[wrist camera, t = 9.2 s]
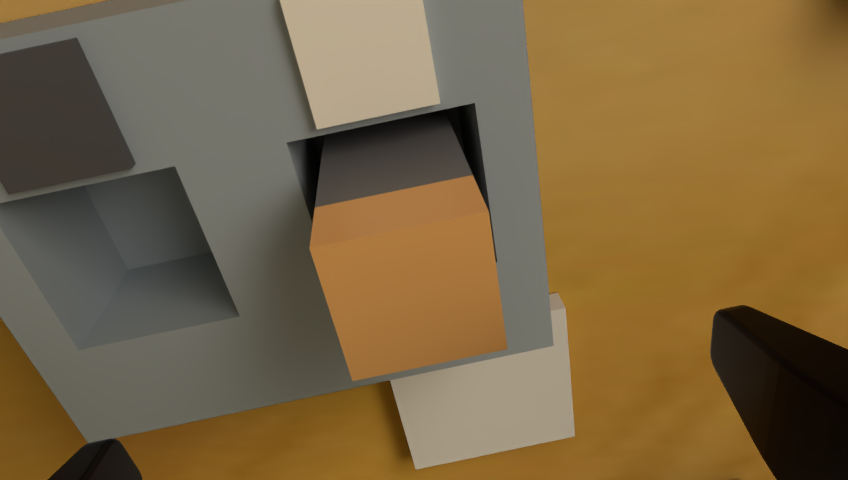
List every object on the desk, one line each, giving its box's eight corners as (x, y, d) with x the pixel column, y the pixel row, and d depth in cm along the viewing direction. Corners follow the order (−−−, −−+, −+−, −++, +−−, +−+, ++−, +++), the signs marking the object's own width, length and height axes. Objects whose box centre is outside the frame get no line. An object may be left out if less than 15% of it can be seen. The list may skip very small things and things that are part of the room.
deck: (567, 418, 26) (574, 436, 25) (413, 450, 26) (415, 469, 25) (557, 292, 23) (565, 308, 22) (379, 330, 23) (380, 346, 22)
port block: (514, 257, 22) (556, 352, 17) (141, 336, 22) (84, 451, 17) (473, -77, 16) (520, -69, 11) (-28, 29, 16) (-180, 79, 12)
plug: (451, 185, 19) (508, 349, 12) (353, 205, 19) (352, 381, 12) (434, 88, 17) (488, 211, 10) (327, 109, 17) (309, 248, 10)
